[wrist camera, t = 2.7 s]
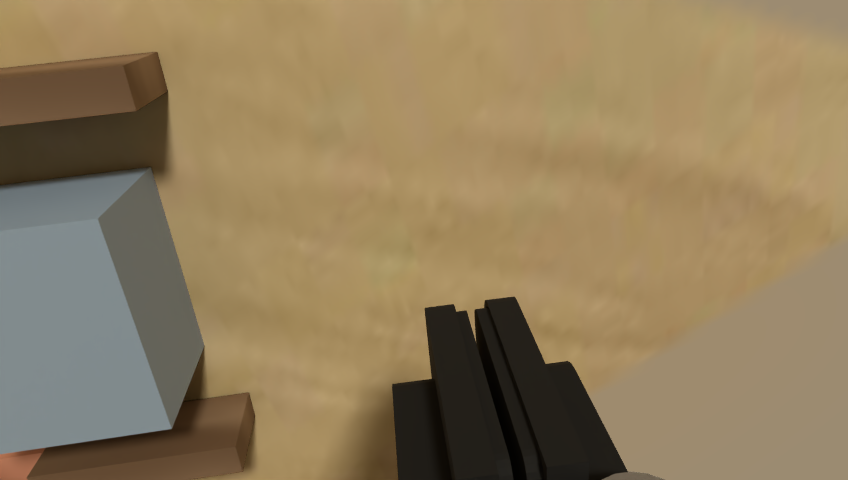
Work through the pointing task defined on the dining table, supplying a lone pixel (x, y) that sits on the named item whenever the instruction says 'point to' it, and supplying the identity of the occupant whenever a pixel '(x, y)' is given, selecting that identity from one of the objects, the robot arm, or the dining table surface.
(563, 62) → the dining table surface
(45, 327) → the slate block
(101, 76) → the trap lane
